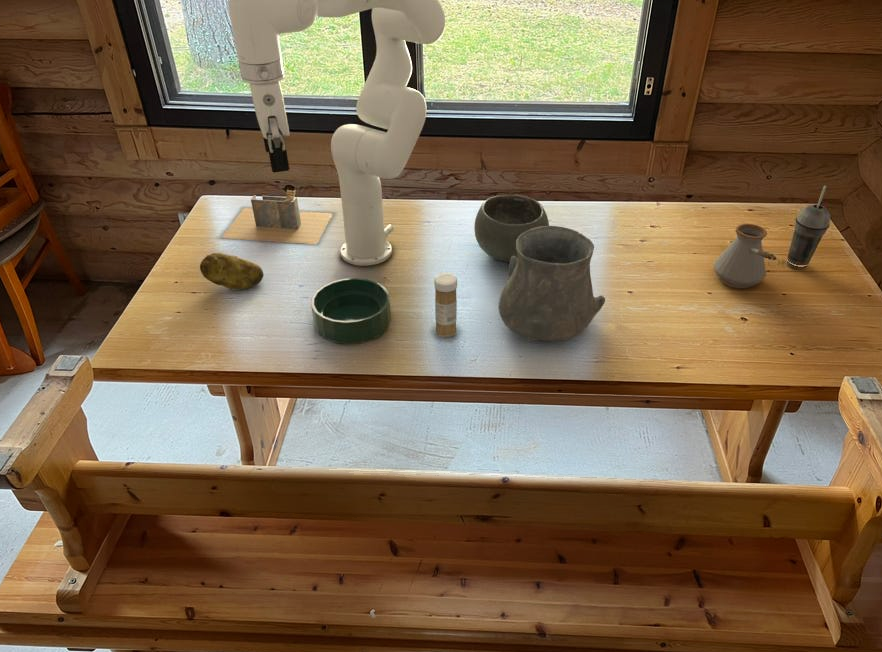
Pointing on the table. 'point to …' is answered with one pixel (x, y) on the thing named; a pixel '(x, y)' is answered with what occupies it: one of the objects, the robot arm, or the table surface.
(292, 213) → the architectural model on board
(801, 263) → the beverage cup
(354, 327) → the green round dish
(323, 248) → the table surface
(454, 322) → the sprinkles bottle
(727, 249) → the coffee pot
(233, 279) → the potato
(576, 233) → the vessel
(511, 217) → the bowl
